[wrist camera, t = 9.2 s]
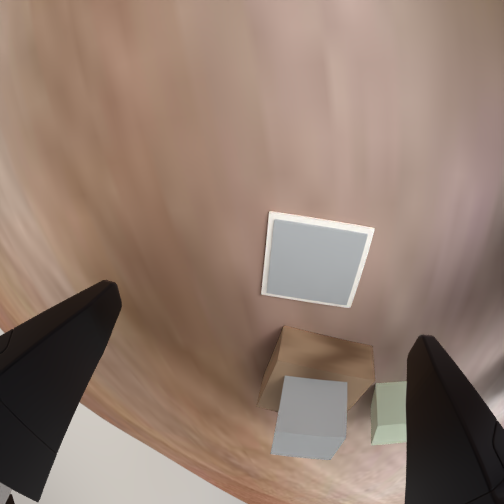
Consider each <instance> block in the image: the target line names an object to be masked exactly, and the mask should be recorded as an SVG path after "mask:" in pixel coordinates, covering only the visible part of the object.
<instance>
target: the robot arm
mask: <svg viewBox="0 0 504 504" xmlns="http://www.w3.org/2000/svg"><path fill="white" fill-rule="evenodd" d="M121 307H122V302H121V298H120V294H119V290H118V286H117V284H116V283H115V282H112V281H108V280H103V281H101V282H99V283H97V284H95V285H93V286H91V287H89V288H87V289H85V290H83V291H81V292H80V293H78V294H76V295H74V296H72V297H70V298H68V299H66V300H64V301H63V302H61V303H59V304H57V305H55V306H53V307H51V308H50V309H48V310H46V311H44V312H42V313H40V314H39V315H37V316H35V317H33V318H31V319H29V320H28V321H26V322H24V323H22V324H20V325H19V326H17V327H15V328H14V330H13V329H11V330H10V331H8V332H6V333H5V334H3V335H1V336H0V504H15V503H14V500H13V497H12V494H10V493H11V490H12V489H13V490H14V491H16V492H18V493H20V494H22V495H24V496H26V497H28V498H30V499H32V500H34V501H36V502H39V500H40V497H41V494H42V492H43V489H44V486H45V484H46V481H47V478H48V476H49V473H50V470H51V468H52V465H53V463H54V460H55V458H56V455H57V452H58V450H59V448H60V445H61V443H62V440H63V438H64V435H65V433H66V431H67V429H68V426H69V424H70V422H71V419H72V417H73V415H74V413H75V411H76V408H77V406H78V404H79V402H80V400H81V398H82V395H83V393H84V391H85V389H86V387H87V385H88V383H89V381H90V379H91V377H92V375H93V372H94V370H95V368H96V366H97V364H98V362H99V360H100V358H101V356H102V354H103V352H104V350H105V348H106V346H107V343H108V341H109V338H110V336H111V333H112V330H113V328H114V325H115V323H116V320H117V318H118V316H119V313H120V311H121ZM496 420H497V419H496V417H495V416H494V415H493V413H492V412H491V410H490V409H489V407H488V406H487V405H486V403H485V402H484V401H483V399H482V398H481V396H480V395H479V394H478V392H477V391H476V390H475V388H474V387H473V386H472V384H471V383H470V382H469V380H468V379H467V378H466V376H465V375H464V374H463V372H462V371H461V370H460V369H459V367H458V366H457V365H456V363H455V362H454V361H453V360H452V358H451V357H450V356H449V355H448V353H447V352H446V351H445V350H444V348H443V347H442V346H441V345H440V343H439V342H438V341H437V340H436V339H435V337H434V336H432V335H420V336H419V337H418V338H417V340H416V342H415V343H414V345H413V347H412V348H411V350H410V352H409V354H408V358H407V386H406V436H407V461H406V490H405V504H504V429H503V427H502V426H501V424H500V423H499V422H498V421H496Z"/></svg>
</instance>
